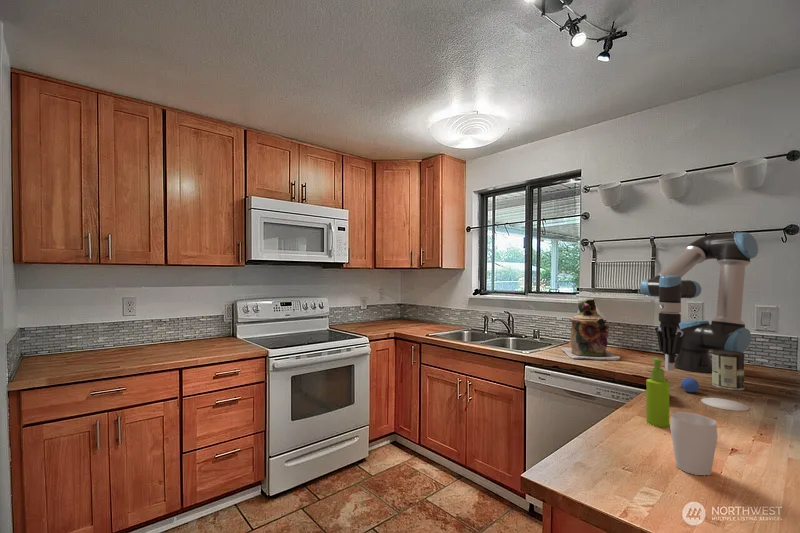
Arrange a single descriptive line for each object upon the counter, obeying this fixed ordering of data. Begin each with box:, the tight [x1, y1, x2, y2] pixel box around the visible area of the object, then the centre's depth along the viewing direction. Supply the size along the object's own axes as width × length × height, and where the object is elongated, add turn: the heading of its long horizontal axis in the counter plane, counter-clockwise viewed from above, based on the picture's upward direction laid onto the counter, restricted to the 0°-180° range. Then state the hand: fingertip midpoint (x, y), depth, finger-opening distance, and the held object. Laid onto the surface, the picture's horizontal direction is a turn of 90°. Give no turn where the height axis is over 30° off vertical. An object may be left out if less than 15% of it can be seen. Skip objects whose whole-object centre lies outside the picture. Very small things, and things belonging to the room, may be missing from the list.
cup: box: [669, 411, 718, 477], centre depth 93 cm, size 9×9×12 cm
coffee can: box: [711, 350, 745, 391], centre depth 160 cm, size 10×10×14 cm
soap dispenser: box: [645, 356, 670, 428], centre depth 121 cm, size 6×7×20 cm
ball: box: [680, 377, 700, 393], centre depth 152 cm, size 6×6×6 cm
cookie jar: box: [560, 297, 621, 361], centre depth 217 cm, size 25×25×32 cm
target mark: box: [700, 397, 750, 412], centre depth 138 cm, size 13×13×1 cm
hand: (669, 370), depth 162 cm, fingers closed
